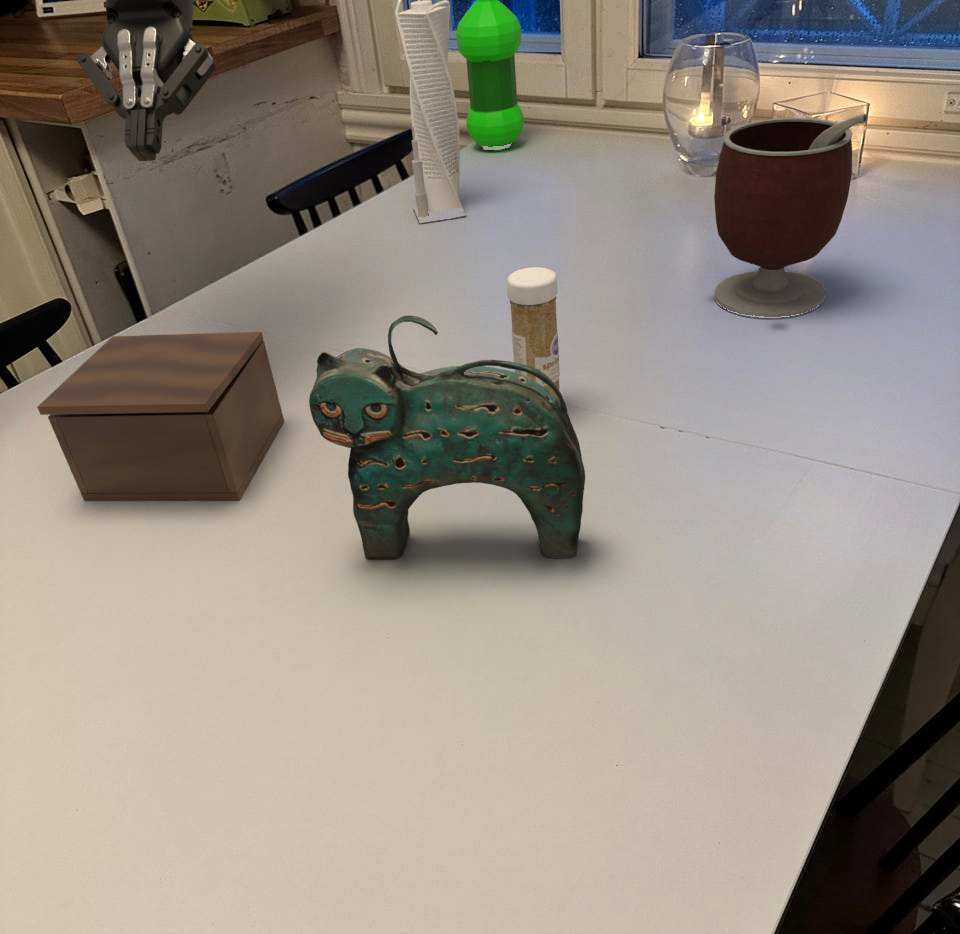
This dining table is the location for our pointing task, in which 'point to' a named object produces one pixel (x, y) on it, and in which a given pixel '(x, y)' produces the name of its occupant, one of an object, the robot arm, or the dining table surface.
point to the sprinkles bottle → (535, 322)
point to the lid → (154, 374)
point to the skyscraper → (431, 106)
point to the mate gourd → (780, 208)
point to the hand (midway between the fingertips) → (142, 156)
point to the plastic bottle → (491, 72)
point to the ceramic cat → (448, 440)
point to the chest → (176, 444)
